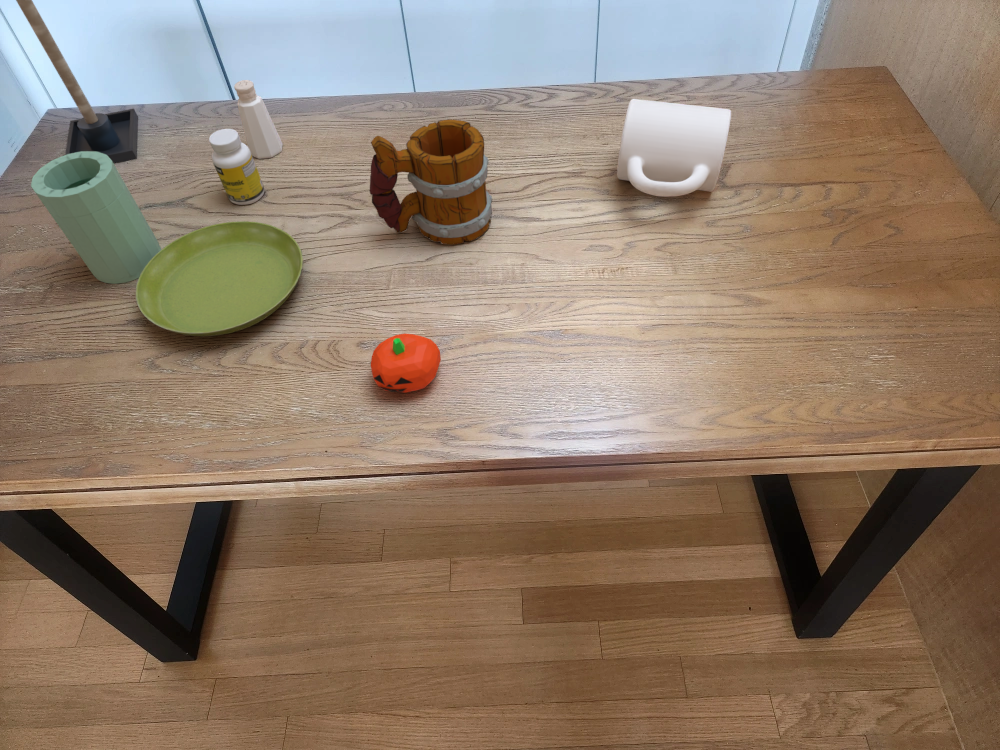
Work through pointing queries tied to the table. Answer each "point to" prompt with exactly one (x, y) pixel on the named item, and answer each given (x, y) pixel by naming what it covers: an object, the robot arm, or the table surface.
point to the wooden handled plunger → (72, 85)
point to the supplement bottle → (236, 167)
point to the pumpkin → (405, 363)
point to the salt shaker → (257, 122)
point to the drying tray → (125, 129)
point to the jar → (97, 215)
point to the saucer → (219, 278)
